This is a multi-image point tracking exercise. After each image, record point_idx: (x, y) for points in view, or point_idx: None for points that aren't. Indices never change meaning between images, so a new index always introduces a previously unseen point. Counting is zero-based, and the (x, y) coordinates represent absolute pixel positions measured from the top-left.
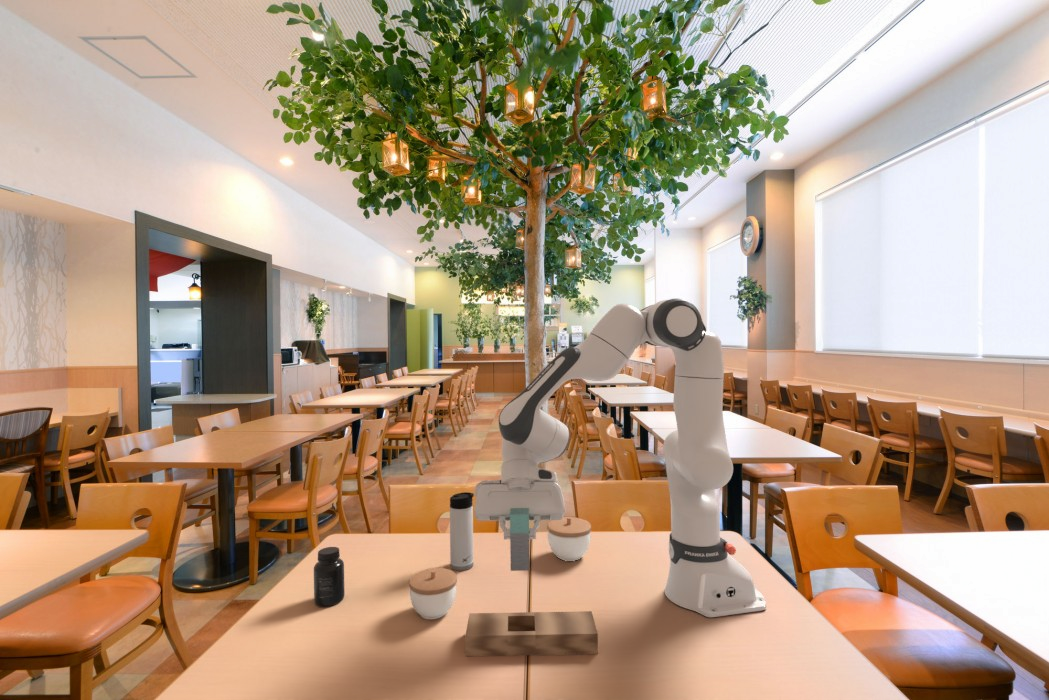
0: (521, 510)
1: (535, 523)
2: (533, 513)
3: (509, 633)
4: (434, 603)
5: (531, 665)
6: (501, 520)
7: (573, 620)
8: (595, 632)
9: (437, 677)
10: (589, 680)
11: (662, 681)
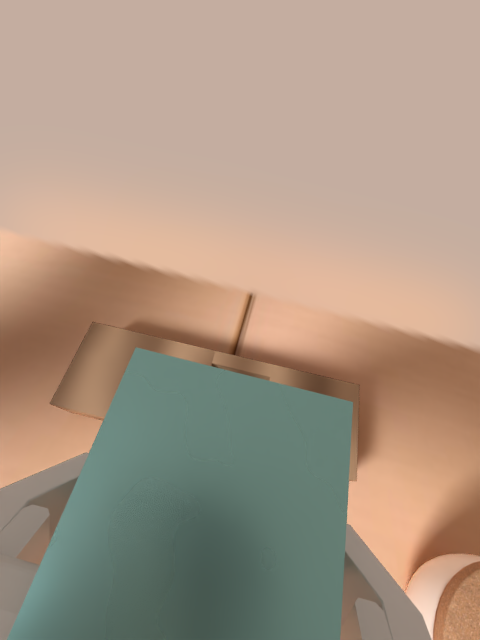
0: (172, 535)
1: (63, 482)
2: (2, 558)
3: (267, 368)
4: (467, 554)
5: (230, 341)
6: (396, 608)
7: (114, 377)
8: (94, 326)
9: (385, 353)
10: (155, 288)
11: (54, 261)
